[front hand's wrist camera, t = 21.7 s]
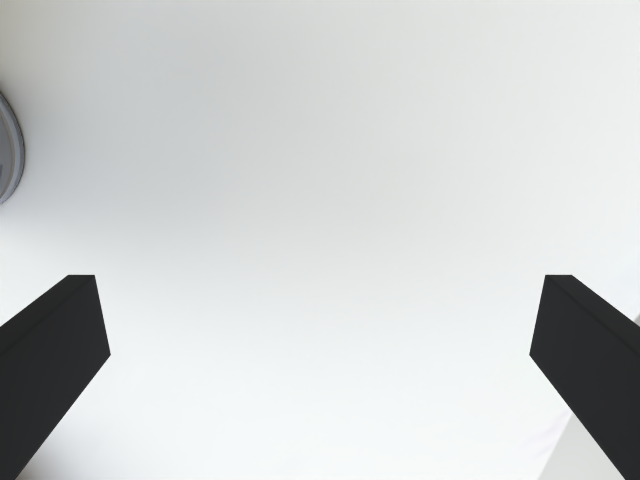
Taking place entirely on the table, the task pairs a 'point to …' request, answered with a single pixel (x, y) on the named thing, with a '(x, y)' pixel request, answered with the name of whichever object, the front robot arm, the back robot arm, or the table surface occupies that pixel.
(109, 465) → the table surface
